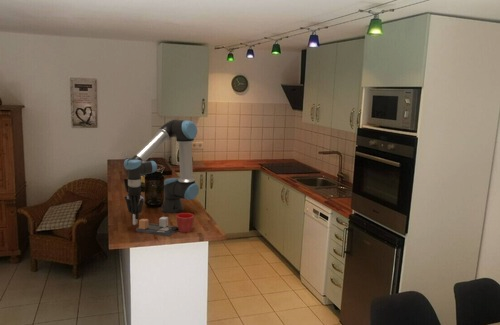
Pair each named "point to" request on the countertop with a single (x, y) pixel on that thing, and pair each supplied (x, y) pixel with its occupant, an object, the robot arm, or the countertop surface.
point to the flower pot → (185, 222)
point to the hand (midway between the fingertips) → (135, 223)
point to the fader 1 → (143, 223)
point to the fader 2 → (163, 221)
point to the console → (158, 229)
